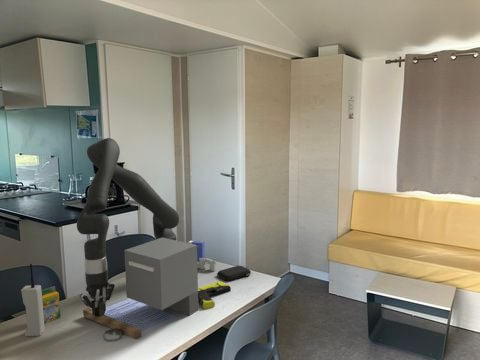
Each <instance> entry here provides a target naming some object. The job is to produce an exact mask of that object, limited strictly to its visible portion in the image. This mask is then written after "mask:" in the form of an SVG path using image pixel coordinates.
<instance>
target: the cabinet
mask: <svg viewBox="0 0 480 360" xmlns="http://www.w3.org/2000/svg"><path fill="white" fill-rule="evenodd" d="M123 251H124V265H125V266H124V267H125V287H126V289H125V290H126V298H127V299H130V300H133V301H136V302H139V303H141V304H143V305H146V306H149V307H152V308H155V309H158V310H160V311H164V310H165V309H170V310H172V311H175V312H179V313H181V314H184V315H186V316H187V315H188V316H191V315H194V314H195V313H196V312H198V311H199V299H198V289H199V280H198V279H199V278H198V273H199V271H198V268H197V266H198V265H197V245H194V244H190V243H188V242H186V241H185V242H184V241H179V240H177V239H176V240H172V239H167V238H163V237H162V238H159V239H156V238H155V239H154V240H151V241H148V242H145V243H142V244H139V245H136V246H133V247H130V248H127V249H124V250H123Z"/></svg>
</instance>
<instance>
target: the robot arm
mask: <svg viewBox="0 0 480 360" xmlns="http://www.w3.org/2000/svg"><path fill="white" fill-rule="evenodd" d="M120 153H121V150H120V146H119V143H118V142H117V141H116V140H115V139H114V138H110V137H107V138H103V139H101V140H99V141H97V142H95V143H93V144H91V145H89V146H88V147H87V149H86V155H87V157H88V159H89V161H90V162H91V163H92V164H93V165H94V166H95V167H96V168H97V169H98V170H97V171H96V174H95V175H94V177H93V178H92V180H91V182H90V185H89V187H88V191H87V197H86V202H85V204H84V207H83V209H82V210H81V212H80V214H79V216H78V218H77V221H76V229H77V232H78V233H79V234H81V235H97V237H95V238H94V239H93V238H92V239H89V240H87V241H85V242H84V245H83V246H84V247H83V248H84V249H83V250H84V251H83V253H84V276H85V284H86V289H85V291H84V292H83V294H79V298H80V299H81V301H82V302H83V303H84V305H85V306H86V308H90V309H92V314H93V315H94V316H95V317H98V316H99V309H98V301H99V300H101V301H103V302H104V314H105V313H106V311H107V307H106V304H107V302H108V301H110V300H111V298H112V294H113V292H114V289H115V286H116V285H115V284H114V283H111V282H109V281H108V280H109V274H108V273H109V271H108V261H107V259H108V258H107V253H106V251H107V248H106V242H107V236H108V230H109V227H110V219H109V217H108V216H107V214H104V213H100V212H103V211H105V210H106V208H107V204H108V198H109V191H110V186H111V181H112V180H113V181H114V183H116V184H117V185H118V186H119V187H120V188H121V189H122V190H123V192H125V193H126V195H128V196H129V197H130V198H131V199H132V200H133V201H134V202H136V204H139V205H140V206H142V207H143V208H145V209H146V210H148V211H149V212H151V213H152V226H153V227H152V228H153V236H154V238H155V240H156V239H159V238H162V237H163V238H167V239H172V240H176V241H177V235H176V233H175V232H174V231H173V229H175V228H176V227H177V226H178V225H179V223H180V216H179V212H178V211H177V210H175V208H173V206H171V205H170V204H168V203H167V202H166V201H165V200H164V199H163V198H162V197H161V196H160V195H159V194H158V193H157V192H156V191H155V189H154V188H153V187H152V186H151V185H150V184H149V183H148V181H146V179H144V177H142V175H141V174H138V173H137V172H134V171H133V170H131V169H127V168H124V167H122V166H120V165H119V164H117V163H118V161H119V159H120V155H121V154H120Z"/></svg>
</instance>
